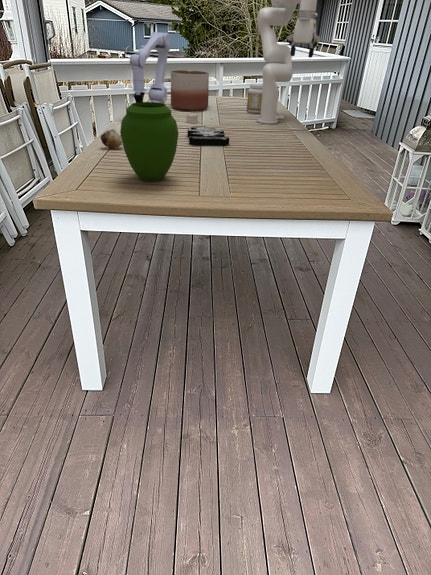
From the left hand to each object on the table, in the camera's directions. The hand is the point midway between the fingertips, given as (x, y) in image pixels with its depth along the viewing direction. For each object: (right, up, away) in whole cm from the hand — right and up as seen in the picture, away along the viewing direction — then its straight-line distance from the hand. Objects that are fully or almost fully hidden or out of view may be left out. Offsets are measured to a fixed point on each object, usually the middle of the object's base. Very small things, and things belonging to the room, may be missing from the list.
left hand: (139, 107), depth 226 cm
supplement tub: (+69, +20, +53) cm, 90 cm away
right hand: (+85, +16, -21) cm, 89 cm away
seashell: (-4, -38, -46) cm, 60 cm away
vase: (+19, -60, -79) cm, 101 cm away
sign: (+37, -25, -21) cm, 50 cm away
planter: (+24, +23, +53) cm, 63 cm away
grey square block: (+28, -3, +13) cm, 31 cm away
